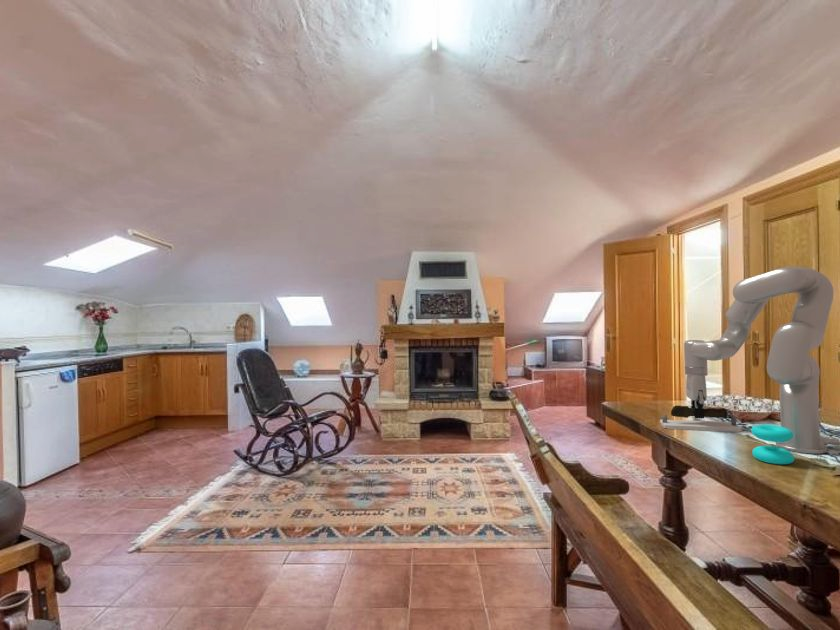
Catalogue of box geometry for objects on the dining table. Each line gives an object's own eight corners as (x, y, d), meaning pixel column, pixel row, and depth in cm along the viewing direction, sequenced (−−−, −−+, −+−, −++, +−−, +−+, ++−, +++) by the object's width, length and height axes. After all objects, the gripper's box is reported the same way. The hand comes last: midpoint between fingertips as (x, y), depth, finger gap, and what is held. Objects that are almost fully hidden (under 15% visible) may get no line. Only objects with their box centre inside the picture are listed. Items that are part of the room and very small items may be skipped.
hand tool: (724, 417, 163) (723, 405, 163) (728, 419, 160) (727, 407, 160) (669, 415, 170) (669, 404, 170) (672, 417, 166) (671, 406, 166)
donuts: (801, 432, 122) (761, 432, 124) (802, 466, 122) (763, 465, 124) (781, 423, 131) (744, 423, 134) (782, 455, 131) (746, 453, 134)
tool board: (732, 425, 164) (732, 414, 164) (741, 432, 156) (741, 420, 156) (659, 423, 173) (659, 412, 173) (664, 428, 164) (664, 417, 164)
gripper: (679, 368, 173) (681, 411, 173) (691, 374, 158) (693, 421, 158) (700, 368, 171) (702, 412, 171) (714, 374, 155) (716, 422, 155)
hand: (697, 416), depth 164 cm, fingers closed on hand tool, 3 cm apart
